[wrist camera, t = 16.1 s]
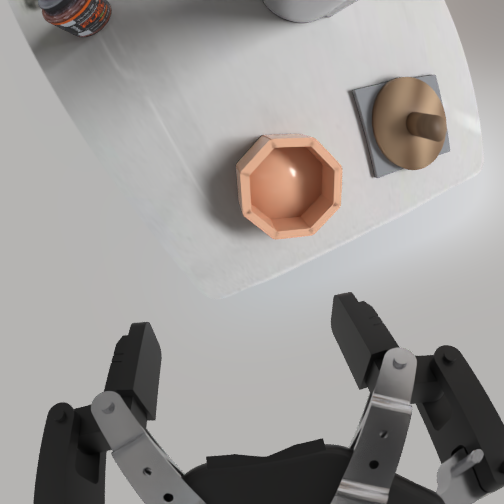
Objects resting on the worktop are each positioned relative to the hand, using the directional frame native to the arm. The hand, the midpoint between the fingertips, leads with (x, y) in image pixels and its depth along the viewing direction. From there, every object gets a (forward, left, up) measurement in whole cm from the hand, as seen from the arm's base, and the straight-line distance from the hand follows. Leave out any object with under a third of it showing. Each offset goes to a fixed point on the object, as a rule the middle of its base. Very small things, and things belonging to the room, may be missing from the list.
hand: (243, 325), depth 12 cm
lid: (-28, -7, -26) cm, 39 cm away
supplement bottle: (+15, -25, -27) cm, 39 cm away
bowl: (-8, +1, -26) cm, 28 cm away
